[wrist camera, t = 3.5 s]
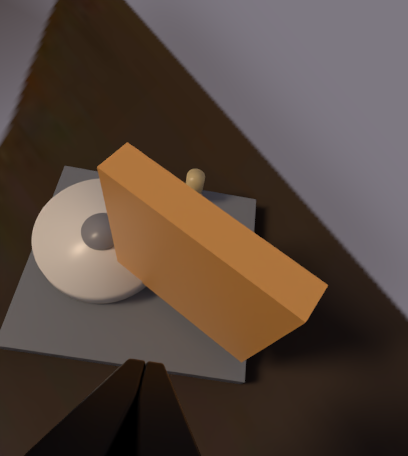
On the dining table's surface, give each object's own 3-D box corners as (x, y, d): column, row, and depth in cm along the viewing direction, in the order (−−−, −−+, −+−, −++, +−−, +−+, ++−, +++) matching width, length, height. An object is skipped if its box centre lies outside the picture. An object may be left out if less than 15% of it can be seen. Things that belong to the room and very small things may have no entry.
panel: (240, 384, 21) (255, 378, 18) (2, 349, 21) (-25, 336, 17) (252, 208, 27) (265, 180, 24) (68, 175, 27) (57, 143, 23)
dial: (9, 248, 22) (-92, 128, 13) (103, 170, 25) (77, 32, 16) (203, 415, 19) (251, 413, 10) (279, 301, 23) (365, 222, 13)
